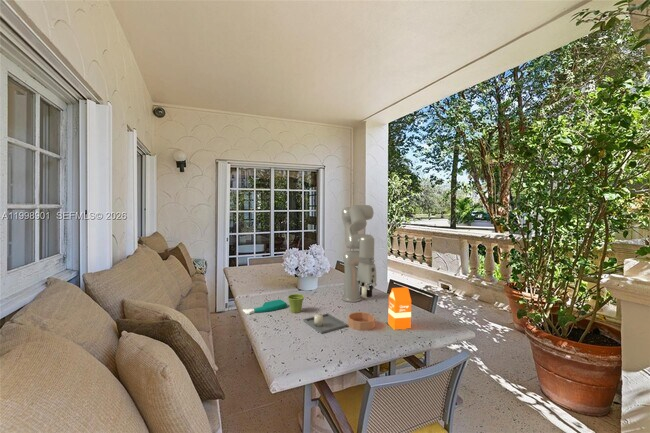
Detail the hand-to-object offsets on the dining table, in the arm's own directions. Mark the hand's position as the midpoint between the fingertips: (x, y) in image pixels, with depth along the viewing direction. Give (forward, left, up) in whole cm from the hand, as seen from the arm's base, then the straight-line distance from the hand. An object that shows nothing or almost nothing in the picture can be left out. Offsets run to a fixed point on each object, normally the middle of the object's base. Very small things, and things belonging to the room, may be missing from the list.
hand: (365, 295), depth 150 cm
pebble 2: (0, 0, -1) cm, 1 cm away
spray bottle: (+35, -48, -16) cm, 62 cm away
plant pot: (+22, -35, -15) cm, 44 cm away
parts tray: (+18, -11, -15) cm, 26 cm away
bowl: (+3, 0, -15) cm, 16 cm away
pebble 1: (+22, -11, -15) cm, 28 cm away
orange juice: (-13, +11, -15) cm, 23 cm away
